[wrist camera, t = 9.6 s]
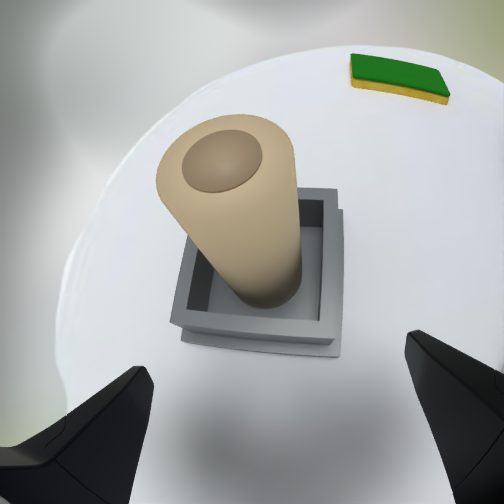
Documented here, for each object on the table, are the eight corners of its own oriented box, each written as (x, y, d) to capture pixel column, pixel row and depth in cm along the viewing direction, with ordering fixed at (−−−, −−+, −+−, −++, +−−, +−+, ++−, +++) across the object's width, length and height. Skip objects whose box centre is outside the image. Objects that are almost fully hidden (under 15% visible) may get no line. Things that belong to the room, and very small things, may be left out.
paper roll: (284, 320, 21) (255, 241, 9) (218, 292, 23) (129, 198, 11) (312, 254, 23) (313, 124, 11) (249, 232, 24) (198, 106, 13)
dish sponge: (446, 108, 29) (451, 95, 27) (351, 89, 32) (352, 75, 30) (435, 81, 32) (438, 69, 29) (350, 65, 35) (350, 52, 33)
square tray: (337, 357, 20) (347, 352, 16) (185, 342, 22) (157, 332, 18) (341, 215, 25) (347, 180, 20) (210, 212, 27) (192, 180, 23)
